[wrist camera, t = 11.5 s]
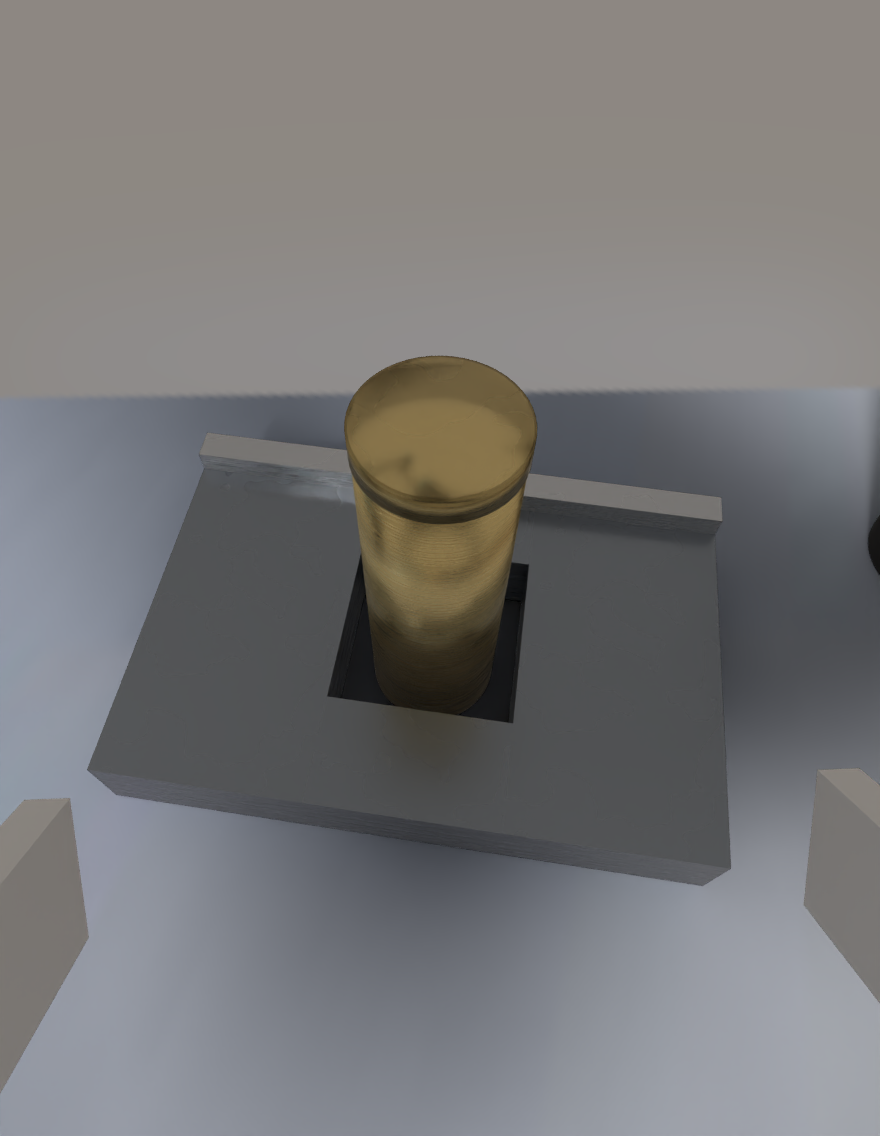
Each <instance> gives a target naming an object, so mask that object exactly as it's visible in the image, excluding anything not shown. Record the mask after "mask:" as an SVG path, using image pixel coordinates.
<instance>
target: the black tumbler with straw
mask: <svg viewBox="0 0 880 1136" xmlns="http://www.w3.org/2000/svg"><path fill="white" fill-rule="evenodd" d="M869 552H870V556H871V559H872V562H873V564H874V566H875V568H876V570H877V571H878V573H879V574H880V515H879V517H878V518H877V520H876V522H875V523H874V525H873V527H872V528H871V531H870V535H869Z"/></svg>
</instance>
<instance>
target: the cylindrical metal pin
mask: <svg viewBox="0 0 880 1136" xmlns="http://www.w3.org/2000/svg"><path fill="white" fill-rule="evenodd" d="M344 432H345V440H346V449H347V456H348V463H349V467H350V470H351V473H352V479H353V488H354V496H355V505H356V513H357V522H358V530H359V538H360V547H361V555H362V564H363V572H364V581H365V589H366V598H367V606H368V614H369V623H370V631H371V640H372V648H373V657H374V665H375V673H376V678H377V681H378V684H379V686H380V688H381V690H382V692H383V693H384V695H385V696H386V697H387V698H388V700H389V701H390V702H391V703H392V704H394V705H395V706H397V707H403V708H410V709H417V710H424V711H431V712H438V713H445V714H452V715H457V714H459V713H461V712H463V711H465V710H467V709H468V708H470V707H471V706H472V705H473V704H475V703H476V702H477V701H478V700H479V698H480V697H481V696H482V694H483V693H484V692H485V690H486V688H487V686H488V683H489V680H490V676H491V671H492V666H493V660H494V655H495V649H496V644H497V638H498V633H499V627H500V622H501V616H502V611H503V606H504V600H505V595H506V589H507V584H508V578H509V573H510V567H511V562H512V556H513V551H514V545H515V540H516V534H517V529H518V524H519V518H520V513H521V507H522V502H523V496H524V491H525V485H526V480H527V478H528V475H529V472H530V470H531V465H532V460H533V454H534V449H535V444H536V438H537V422H536V416H535V413H534V410H533V407H532V405H531V403H530V401H529V399H528V398H527V397H526V395H525V394H524V392H523V391H522V390H521V389H520V388H519V387H518V386H517V385H516V384H515V383H514V382H513V381H512V380H510V379H509V378H508V377H507V376H505V375H504V374H502V373H501V372H499V371H497V370H496V369H494V368H492V367H489V366H487V365H485V364H482V363H479V362H477V361H473V360H469V359H465V358H459V357H452V356H426V357H418V358H413V359H408V360H405V361H402V362H399V363H396V364H394V365H391V366H389V367H387V368H385V369H383V370H381V371H380V372H378V373H376V374H375V375H374V376H372V377H371V378H369V379H368V380H367V381H366V382H365V383H364V384H363V385H362V386H361V387H360V388H359V389H358V391H357V392H356V393H355V395H354V396H353V398H352V400H351V402H350V403H349V406H348V409H347V412H346V416H345V422H344Z"/></svg>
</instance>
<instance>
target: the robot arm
mask: <svg viewBox="0 0 880 1136" xmlns="http://www.w3.org/2000/svg"><path fill="white" fill-rule="evenodd" d="M804 906H805V907H806V909H807V910H808V911H809V912H810V914H811V915H812V916H813V918H814V919H815V920H816V921H817V923H818V924H819V925H820V927H821V928H822V929H823V931H824V932H825V933H826V934H827V936H828V937H829V938H830V940H831V941H832V942H833V943H834V945H835V946H836V947H837V949H838V950H839V951H840V953H841V954H842V955H843V956H844V958H845V959H846V960H847V962H848V963H849V964H850V965H851V967H852V968H853V969H854V971H855V972H856V973H857V974H858V976H859V977H860V978H861V980H862V981H863V982H864V984H865V985H866V986H867V987H868V989H869V990H870V991H871V993H872V994H873V995H874V996H875V998H876V999H877V1000H878V1002H879V1003H880V785H879V784H877V783H876V782H875V781H874V780H873V779H872V778H870V777H869V776H868V775H867V774H866V773H864V772H863V771H862V770H861V769H860V768H854V769H827V770H817V780H816V790H815V799H814V809H813V819H812V829H811V838H810V848H809V858H808V868H807V877H806V887H805V897H804ZM88 938H89V935H88V928H87V921H86V913H85V906H84V899H83V891H82V884H81V877H80V869H79V862H78V855H77V847H76V840H75V832H74V825H73V818H72V810H71V803H70V798H63V799H37V800H24V801H23V802H22V803H21V804H20V805H19V806H18V807H17V809H16V810H15V811H14V812H13V813H12V814H11V815H10V816H9V817H8V818H7V820H6V821H5V822H4V823H3V824H2V825H1V826H0V1093H1V1091H2V1090H3V1088H4V1086H5V1084H6V1083H7V1081H8V1079H9V1077H10V1075H11V1074H12V1072H13V1070H14V1068H15V1067H16V1065H17V1063H18V1061H19V1060H20V1058H21V1056H22V1054H23V1053H24V1051H25V1049H26V1047H27V1045H28V1044H29V1042H30V1040H31V1038H32V1037H33V1035H34V1033H35V1031H36V1030H37V1028H38V1026H39V1024H40V1023H41V1021H42V1019H43V1017H44V1015H45V1014H46V1012H47V1010H48V1008H49V1007H50V1005H51V1003H52V1001H53V1000H54V998H55V996H56V994H57V992H58V991H59V989H60V987H61V985H62V984H63V982H64V980H65V978H66V977H67V975H68V973H69V971H70V970H71V968H72V966H73V964H74V962H75V961H76V959H77V957H78V955H79V954H80V952H81V950H82V948H83V947H84V945H85V943H86V941H87V940H88Z"/></svg>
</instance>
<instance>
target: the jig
mask: <svg viewBox="0 0 880 1136" xmlns="http://www.w3.org/2000/svg"><path fill="white" fill-rule="evenodd" d="M199 456H200V459H201V461H202V464H203V467H204V471H203V473H202V476H201V478H200V481H199V484H198V486H197V489H196V491H195V494H194V496H193V499H192V502H191V504H190V507H189V509H188V512H187V514H186V517H185V520H184V522H183V525H182V527H181V530H180V532H179V535H178V538H177V540H176V543H175V545H174V548H173V550H172V553H171V556H170V558H169V561H168V563H167V566H166V568H165V571H164V574H163V576H162V579H161V581H160V584H159V586H158V589H157V592H156V594H155V597H154V599H153V602H152V604H151V607H150V610H149V612H148V615H147V617H146V620H145V622H144V625H143V628H142V630H141V633H140V635H139V638H138V640H137V643H136V645H135V648H134V651H133V653H132V656H131V658H130V661H129V663H128V666H127V669H126V671H125V674H124V676H123V679H122V681H121V684H120V687H119V689H118V692H117V694H116V697H115V699H114V702H113V705H112V707H111V710H110V712H109V715H108V717H107V720H106V723H105V725H104V728H103V730H102V733H101V735H100V738H99V741H98V743H97V746H96V748H95V751H94V753H93V756H92V759H91V761H90V764H89V766H88V769H87V770H88V771H89V772H90V773H91V774H92V775H94V776H95V777H96V778H97V779H98V780H100V781H101V782H102V783H103V784H104V785H105V786H107V787H108V788H109V789H110V790H111V791H112V792H114V793H115V794H116V795H121V796H128V797H134V798H140V799H147V800H153V801H160V802H166V803H173V804H179V805H185V806H192V807H198V808H205V809H211V810H218V811H224V812H231V813H237V814H243V815H250V816H256V817H263V818H269V819H276V820H282V821H289V822H295V823H301V824H308V825H314V826H321V827H327V828H334V829H340V830H347V831H353V832H359V833H366V834H372V835H379V836H385V837H392V838H398V839H405V840H411V841H417V842H424V843H430V844H437V845H443V846H450V847H456V848H462V849H469V850H475V851H482V852H488V853H495V854H501V855H508V856H514V857H520V858H527V859H533V860H540V861H546V862H553V863H559V864H566V865H572V866H578V867H585V868H591V869H598V870H604V871H611V872H617V873H624V874H630V875H636V876H643V877H649V878H656V879H662V880H669V881H675V882H682V883H688V884H694V885H701V886H703V885H705V884H707V883H708V882H710V881H712V880H713V879H715V878H717V877H718V876H720V875H722V874H723V873H725V872H727V871H728V870H730V869H731V859H730V838H729V817H728V797H727V776H726V755H725V735H724V714H723V693H722V672H721V652H720V631H719V610H718V589H717V569H716V548H715V534H716V532H717V530H718V528H719V527H720V525H721V523H722V504H721V497H713V496H705V495H697V494H689V493H681V492H673V491H666V490H658V489H650V488H642V487H634V486H626V485H618V484H610V483H602V482H594V481H586V480H578V479H570V478H563V477H555V476H547V475H539V474H531V473H529V475H528V478H527V480H526V485H525V491H524V496H523V502H522V507H521V513H520V518H519V524H518V529H517V534H516V540H515V545H514V551H513V556H512V562H511V567H510V573H509V578H508V584H507V589H506V595H505V599H507V600H514V601H521V607H520V616H519V626H518V635H517V645H516V655H515V664H514V674H513V683H512V693H511V703H510V712H509V722H508V723H507V722H500V721H493V720H486V719H479V718H472V717H465V716H459V715H452V714H445V713H438V712H431V711H424V710H417V709H410V708H403V707H397V706H390V705H383V704H376V703H369V702H362V701H355V700H348V699H341V697H342V692H343V688H344V684H345V679H346V675H347V670H348V666H349V661H350V657H351V653H352V648H353V644H354V639H355V635H356V630H357V626H358V622H359V617H360V613H361V608H362V604H363V600H364V595H365V591H366V589H365V581H364V572H363V564H362V555H361V547H360V538H359V530H358V522H357V513H356V505H355V496H354V488H353V479H352V473H351V470H350V467H349V463H348V456H347V450H341V449H333V448H325V447H317V446H309V445H301V444H293V443H285V442H277V441H269V440H261V439H254V438H246V437H238V436H230V435H222V434H214V433H207V435H206V438H205V440H204V443H203V445H202V448H201V450H200V453H199Z"/></svg>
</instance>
